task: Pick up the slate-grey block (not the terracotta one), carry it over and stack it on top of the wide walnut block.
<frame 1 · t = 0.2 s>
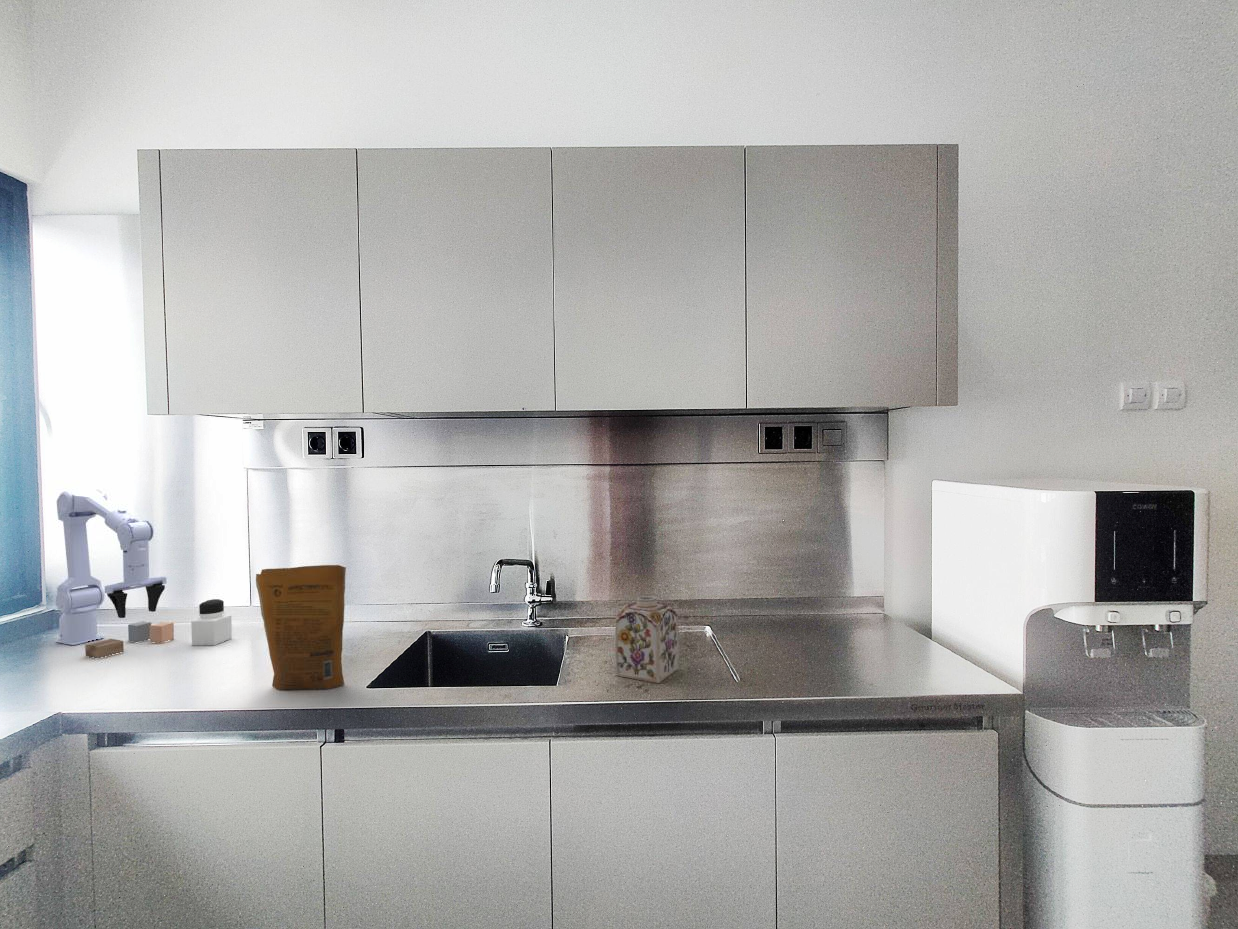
hand: (137, 614, 178), 10 cm above the countertop, tool pointing down, fingers open, 7 cm apart
medicine bottle: (212, 642, 185), on the countertop
decorative jar: (647, 673, 153), on the countertop
walnut block: (104, 655, 174), on the countertop
terracotta block: (162, 641, 187), on the countertop
pancake mix bag: (306, 688, 146), on the countertop
slate block: (140, 640, 188), on the countertop
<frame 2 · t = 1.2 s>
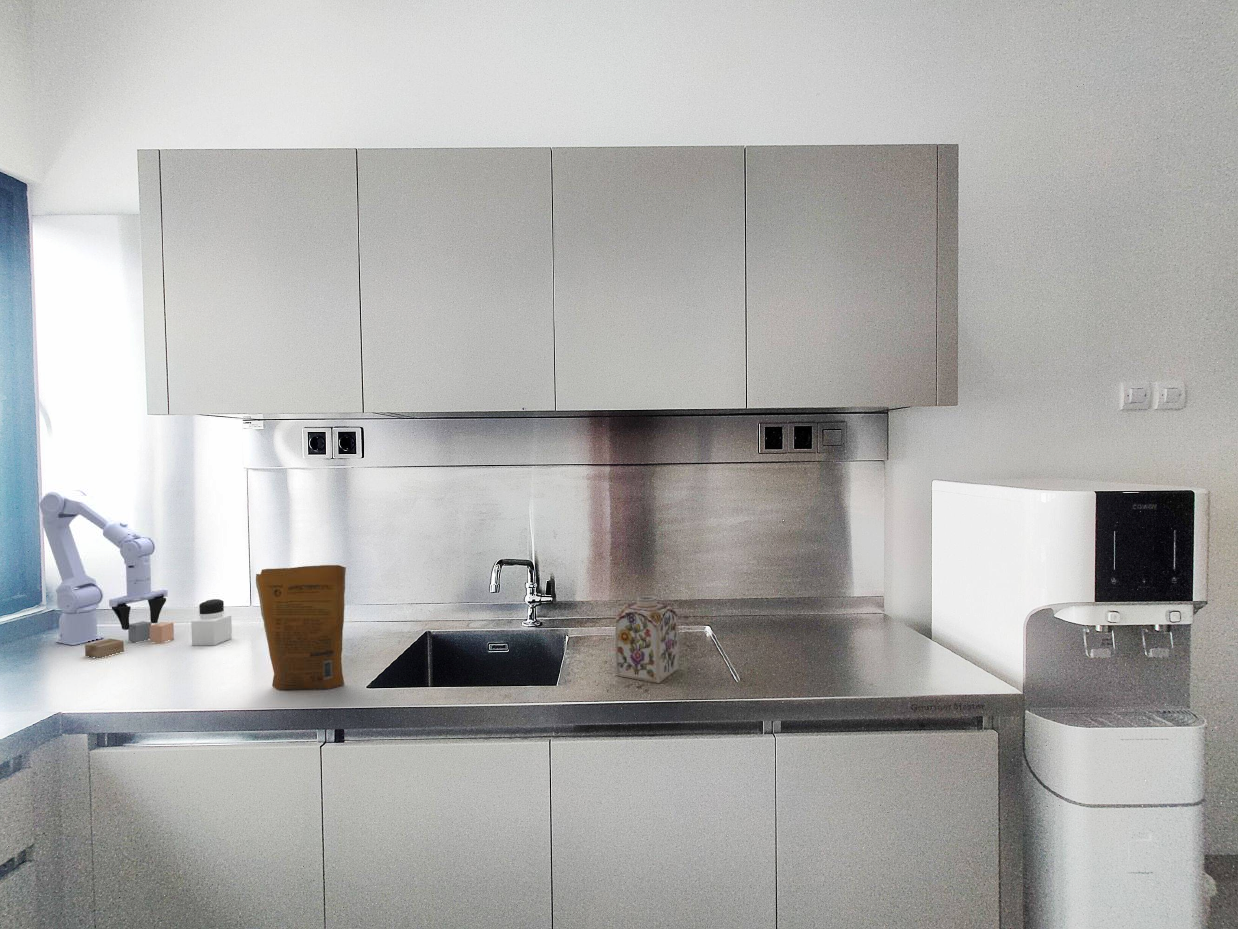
hand: (140, 626, 188), 4 cm above the countertop, tool pointing down, fingers open, 7 cm apart
nothing on the countertop moved.
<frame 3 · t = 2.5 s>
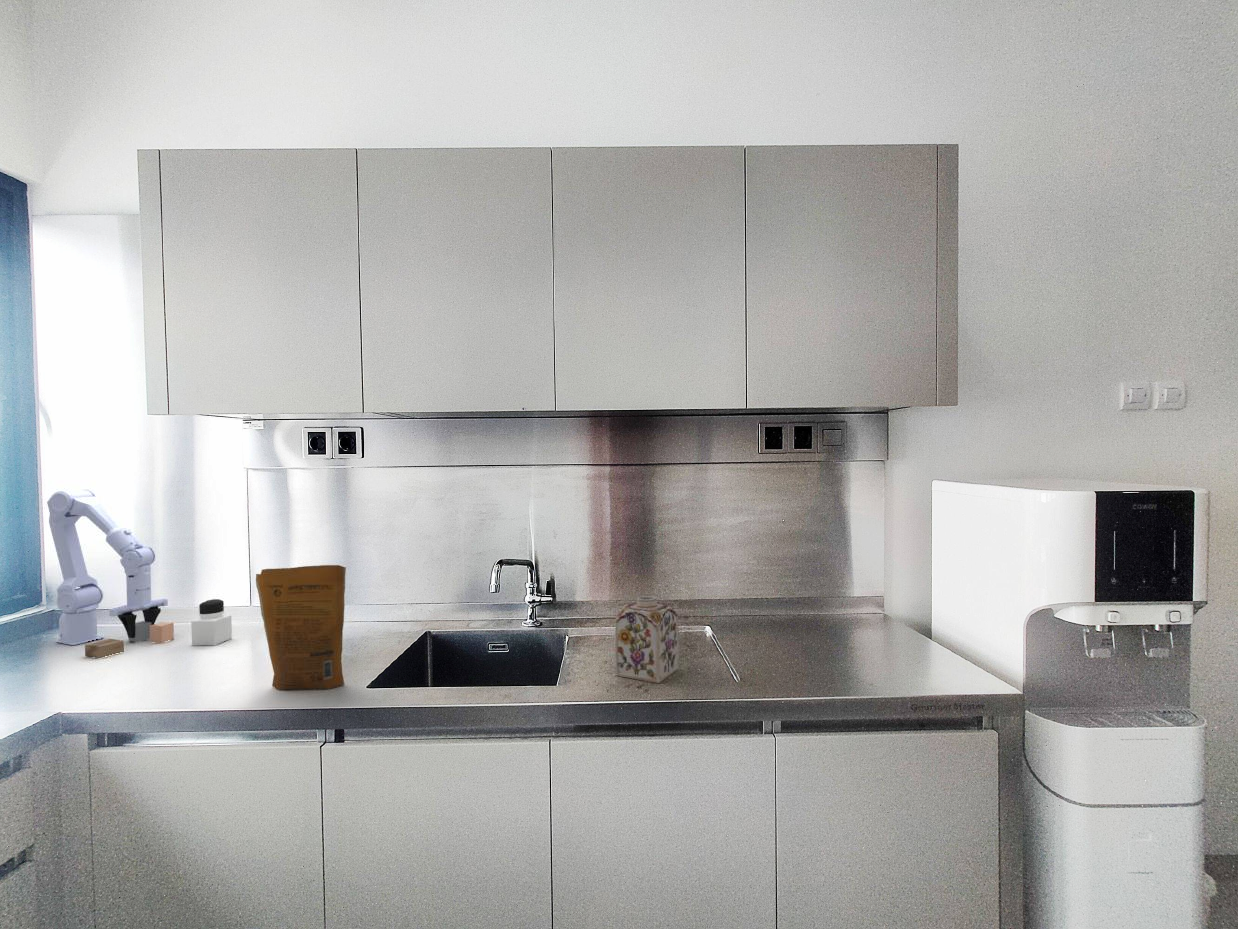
hand: (140, 635, 188), 1 cm above the countertop, tool pointing down, fingers closed on slate block, 4 cm apart
slate block: (140, 640, 188), on the countertop, touching gripper
everything else where it was.
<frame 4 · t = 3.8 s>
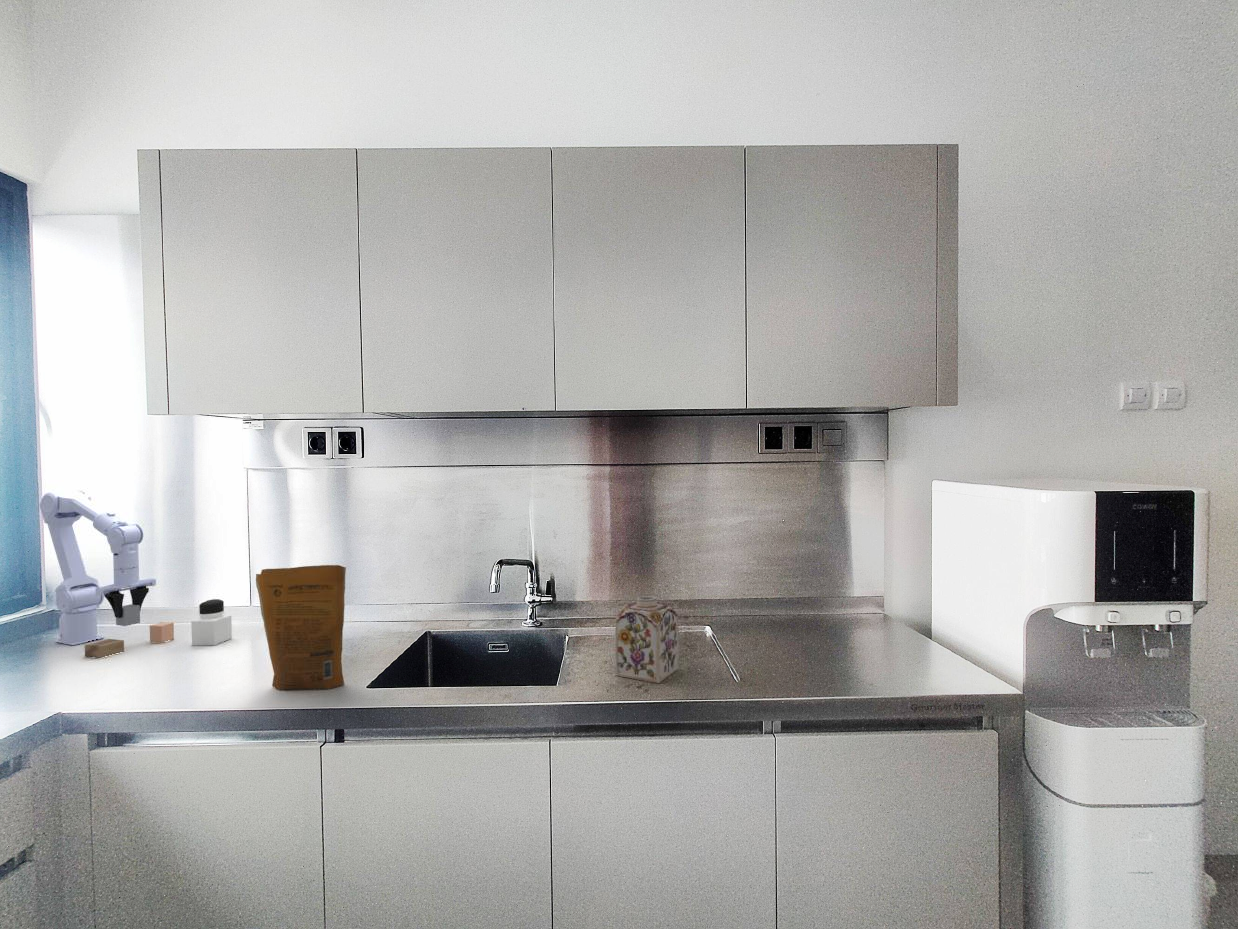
hand: (127, 615, 183), 8 cm above the countertop, tool pointing down, fingers closed on slate block, 4 cm apart
slate block: (128, 623, 183), point 6 cm above the countertop, touching gripper
everything else where it was.
when the fingers open (6 cm above the countertop, at t = 5.1 s): slate block stays where it is, resting on walnut block.
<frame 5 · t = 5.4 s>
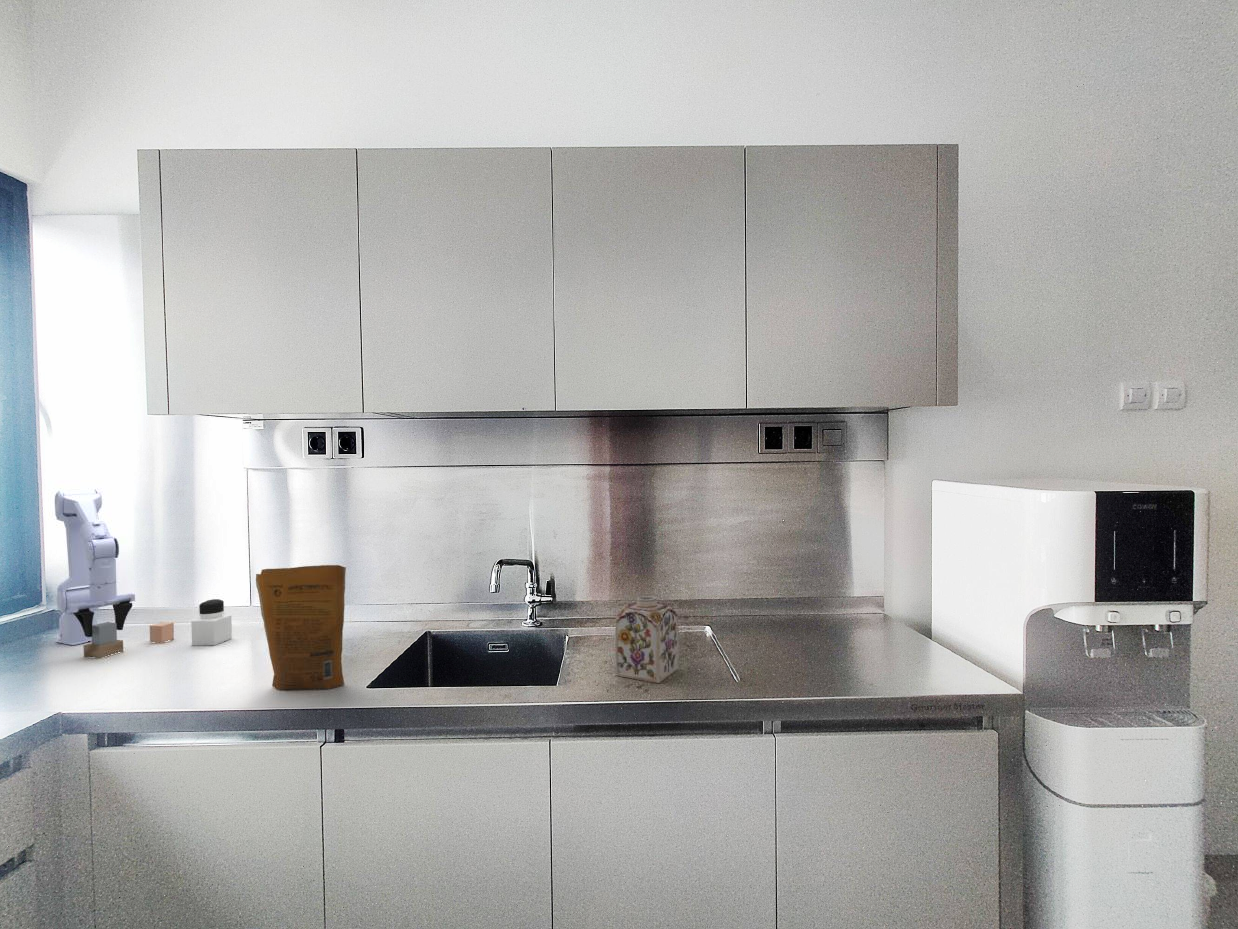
hand: (104, 633, 174), 6 cm above the countertop, tool pointing down, fingers open, 7 cm apart
walnut block: (103, 655, 174), on the countertop, touching slate block
slate block: (104, 642, 174), point 3 cm above the countertop, touching walnut block
everything else where it was.
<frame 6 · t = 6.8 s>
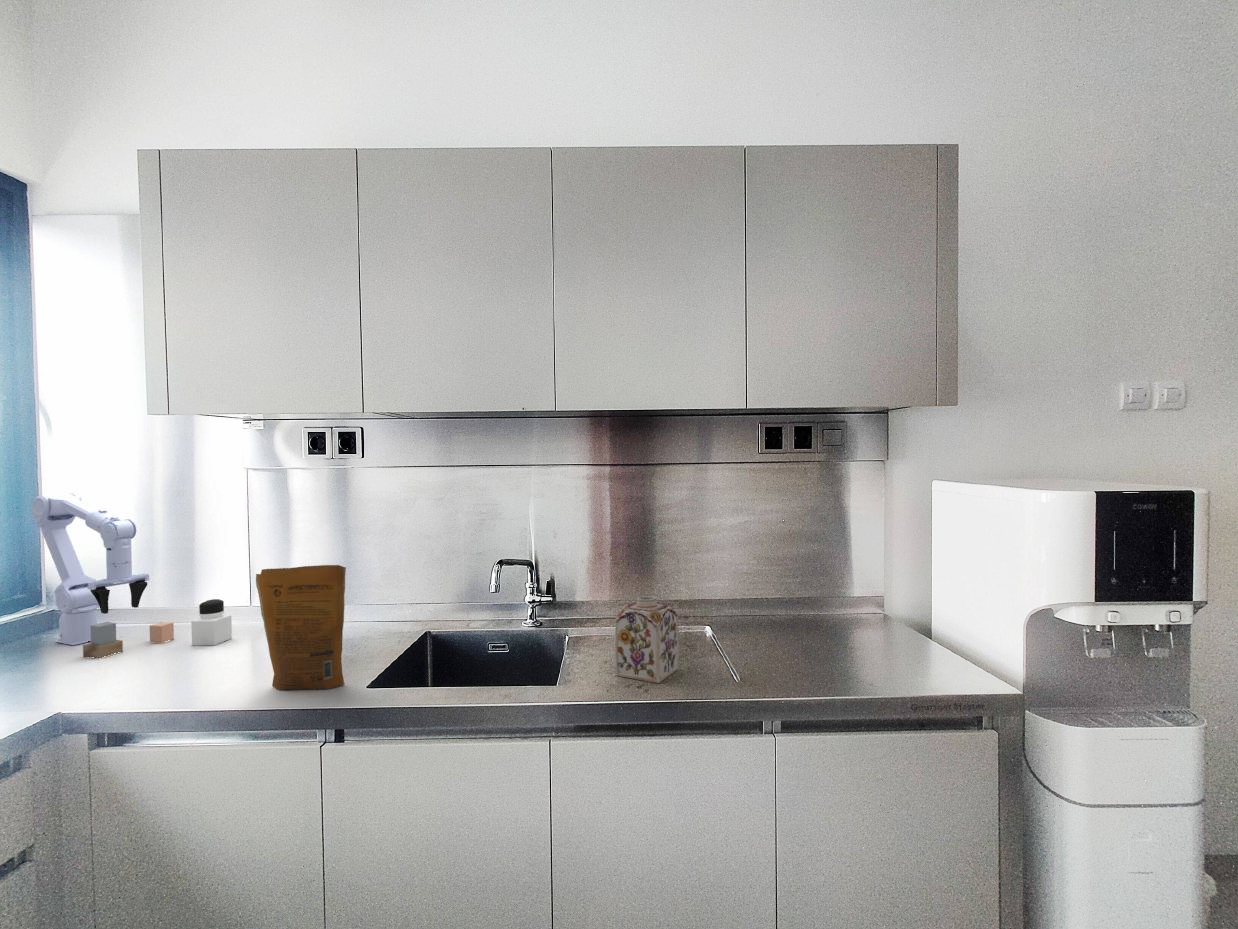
hand: (120, 610, 184), 10 cm above the countertop, tool pointing down, fingers open, 7 cm apart
walnut block: (103, 655, 174), on the countertop
slate block: (103, 642, 174), point 3 cm above the countertop
everything else where it was.
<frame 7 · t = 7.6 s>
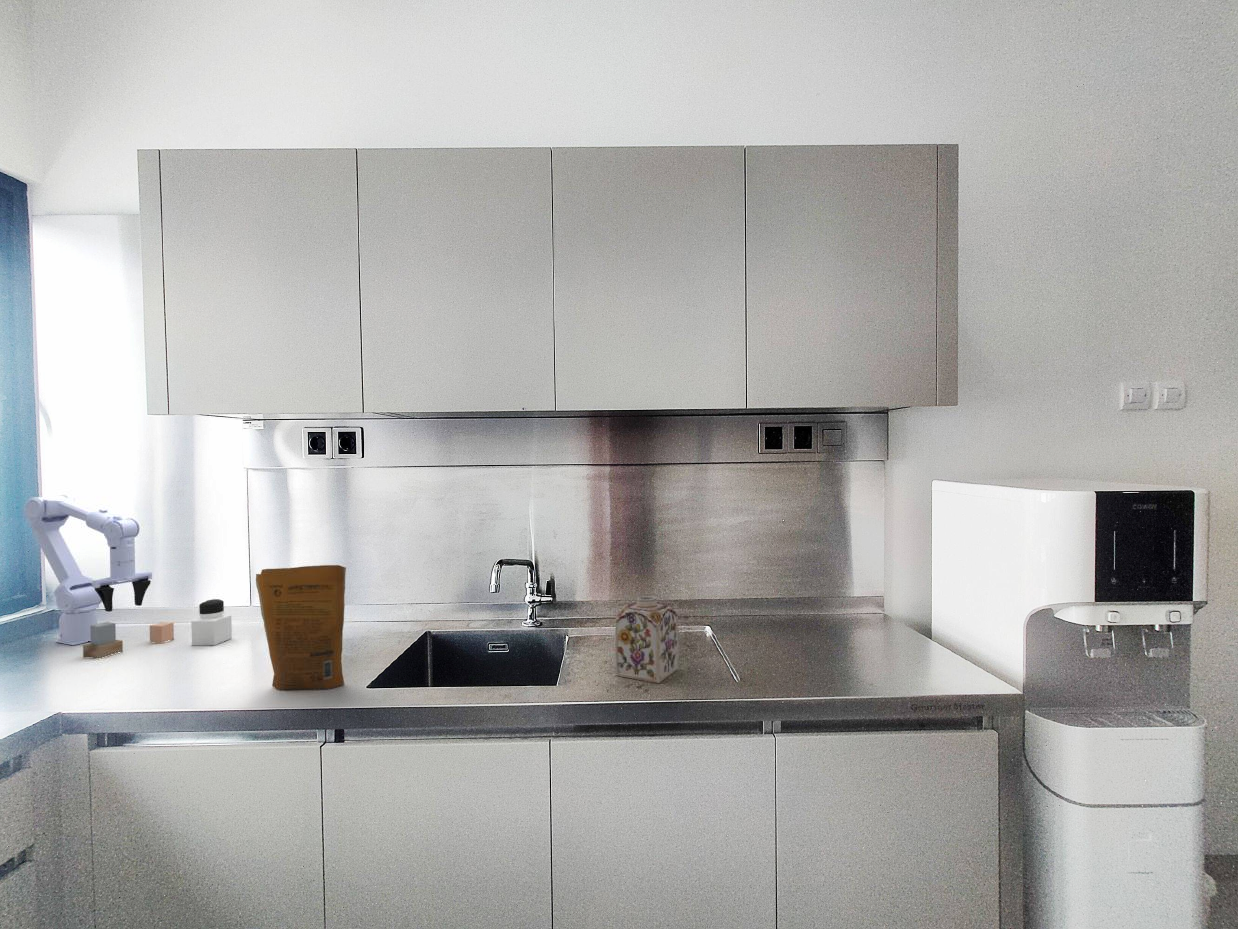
hand: (123, 608, 186), 10 cm above the countertop, tool pointing down, fingers open, 7 cm apart
nothing on the countertop moved.
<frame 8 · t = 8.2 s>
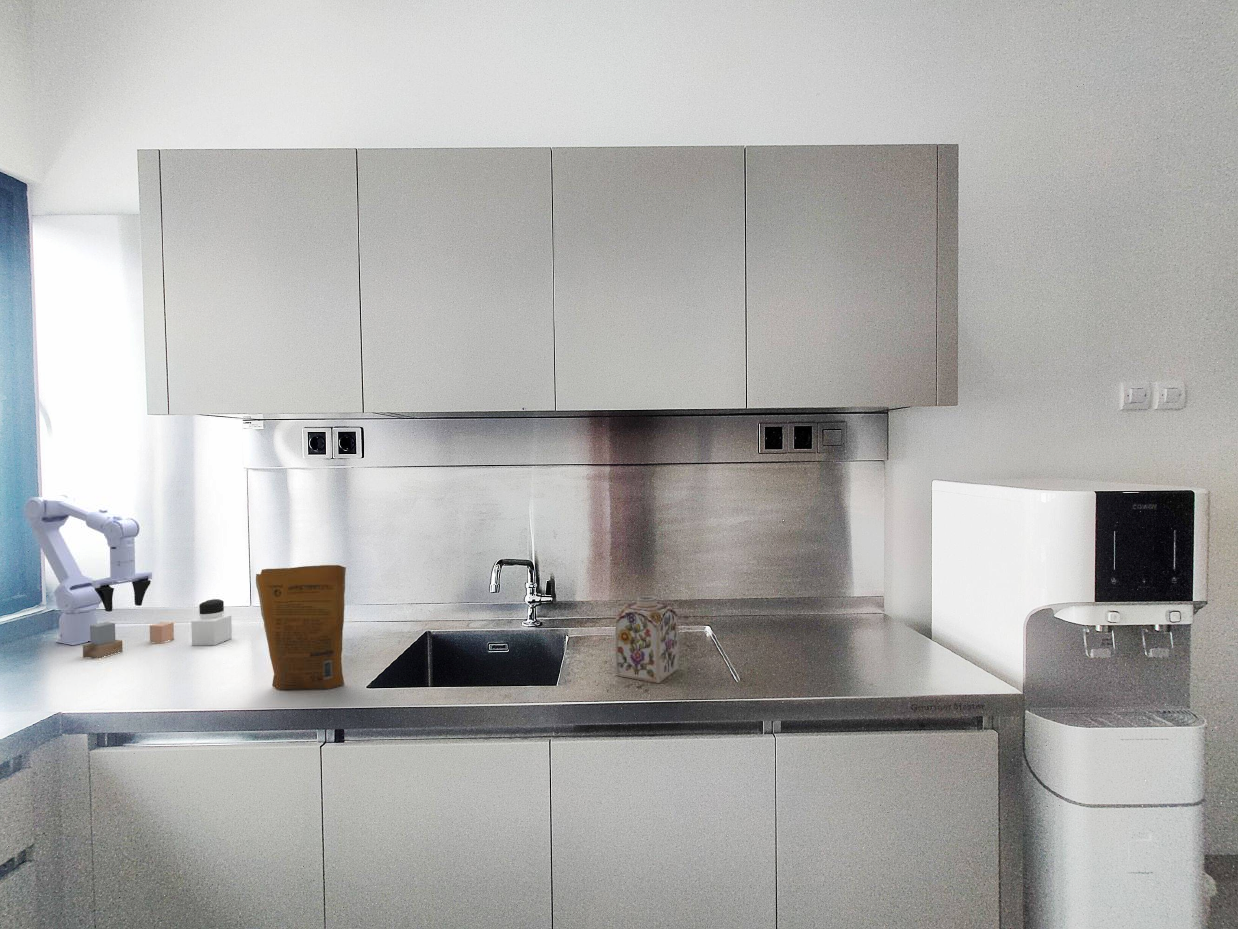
hand: (123, 608, 186), 10 cm above the countertop, tool pointing down, fingers open, 7 cm apart
walnut block: (103, 655, 174), on the countertop, touching slate block
slate block: (103, 642, 174), point 3 cm above the countertop, touching walnut block
everything else where it was.
at the end: slate block 0.3 cm off-centre on the walnut block, point 3.5 cm above the walnut block's base; slate block tilted 0°; the gripper is holding nothing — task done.
